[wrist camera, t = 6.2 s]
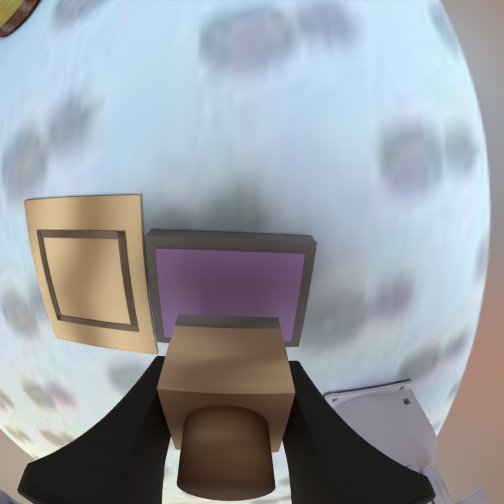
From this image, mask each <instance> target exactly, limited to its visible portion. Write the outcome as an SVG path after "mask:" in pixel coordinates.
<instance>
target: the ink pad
mask: <svg viewBox="0 0 504 504" xmlns="http://www.w3.org/2000/svg"><path fill="white" fill-rule="evenodd" d="M145 245H146V257H147V268H148V278H149V287H150V296H151V304H152V311H153V318H154V325H155V331H156V337H157V342H164V343H170V340H171V336H172V333H173V330H174V326H175V323H176V320H177V316H178V314H190V315H210V316H239V317H278V318H279V322H280V327H281V331H282V335H283V340H284V344H285V347H299V342H300V337H301V332H302V327H303V322H304V316H305V311H306V305H307V300H308V294H309V288H310V282H311V276H312V270H313V264H314V257H315V250H316V241H315V240H314V239H313V238H312V236H307V235H287V234H265V233H242V232H215V231H184V230H150V231H149V233H148V234H147V235H146V236H145Z"/></svg>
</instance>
